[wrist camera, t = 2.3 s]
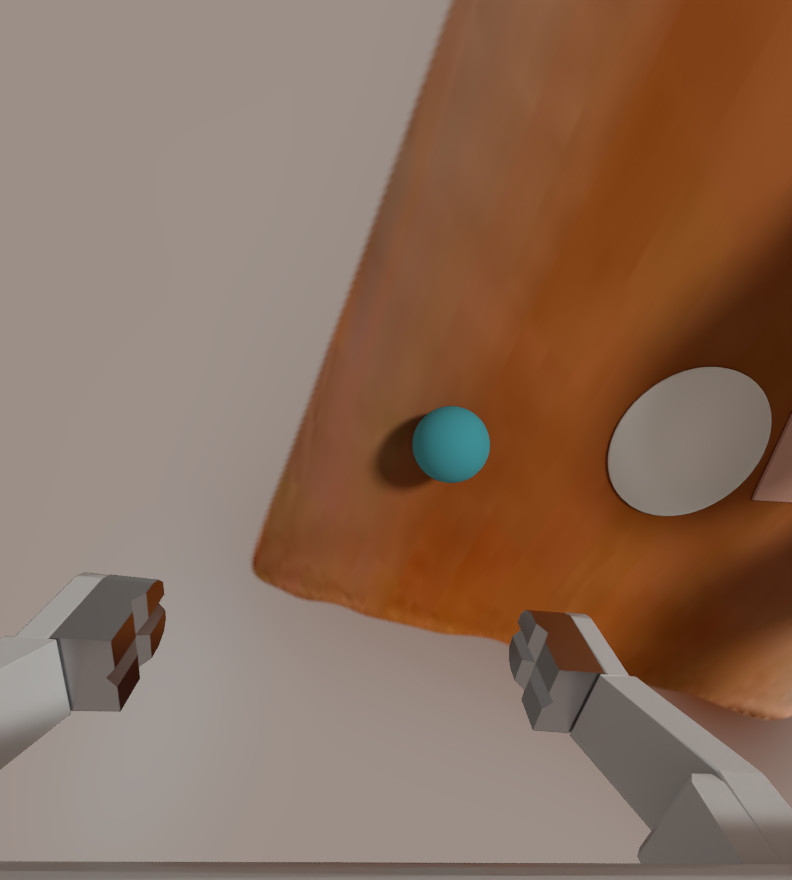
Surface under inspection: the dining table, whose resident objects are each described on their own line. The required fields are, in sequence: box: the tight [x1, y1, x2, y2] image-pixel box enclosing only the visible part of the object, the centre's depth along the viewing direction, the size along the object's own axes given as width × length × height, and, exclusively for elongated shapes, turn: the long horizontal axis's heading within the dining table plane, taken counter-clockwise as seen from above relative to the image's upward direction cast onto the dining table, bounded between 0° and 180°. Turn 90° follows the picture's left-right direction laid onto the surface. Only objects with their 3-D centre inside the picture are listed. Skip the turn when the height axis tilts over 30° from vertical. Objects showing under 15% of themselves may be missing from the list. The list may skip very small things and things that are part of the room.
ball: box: [412, 406, 490, 483], centre depth 28 cm, size 6×6×6 cm
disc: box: [607, 367, 772, 516], centre depth 32 cm, size 13×13×1 cm
